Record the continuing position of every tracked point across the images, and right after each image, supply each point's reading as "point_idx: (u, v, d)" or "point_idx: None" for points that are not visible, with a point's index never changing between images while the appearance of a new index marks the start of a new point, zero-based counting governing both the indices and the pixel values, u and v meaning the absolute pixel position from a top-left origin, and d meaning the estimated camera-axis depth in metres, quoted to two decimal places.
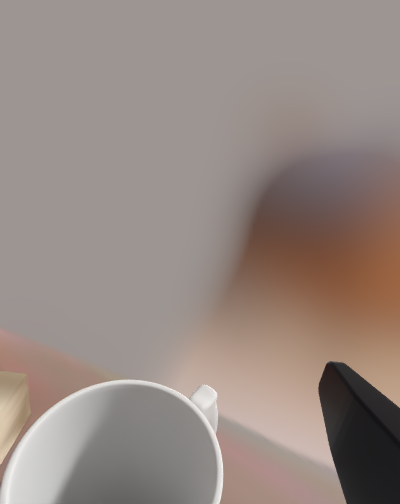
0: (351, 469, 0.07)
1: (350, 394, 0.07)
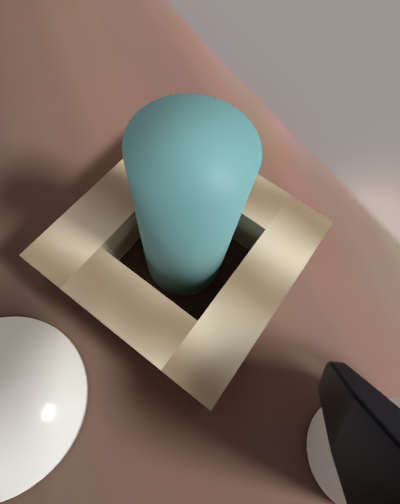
0: (351, 469, 0.07)
1: (350, 394, 0.07)
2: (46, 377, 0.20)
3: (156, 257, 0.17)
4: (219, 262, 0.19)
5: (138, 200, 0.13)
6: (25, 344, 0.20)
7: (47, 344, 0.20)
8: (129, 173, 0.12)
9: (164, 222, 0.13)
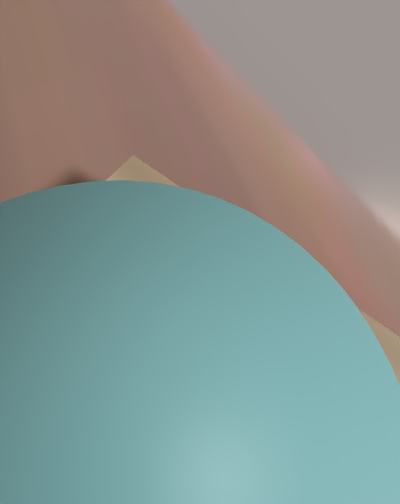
0: None
1: None
2: None
3: None
4: None
5: None
6: None
7: None
8: None
9: None
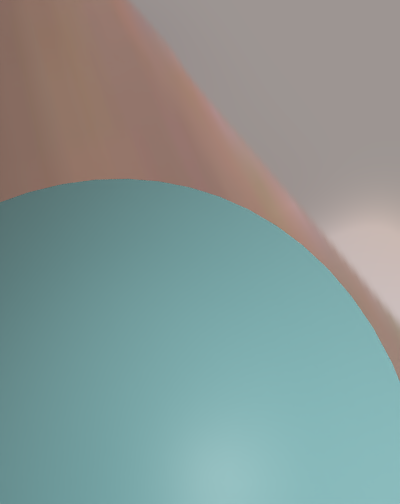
0: None
1: None
2: None
3: None
4: None
5: None
6: None
7: None
8: None
9: None
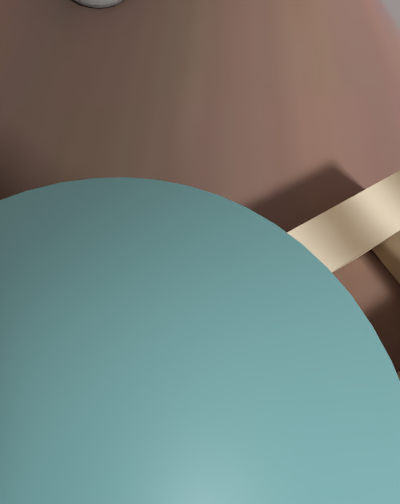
0: None
1: None
2: None
3: None
4: None
5: None
6: None
7: None
8: None
9: None
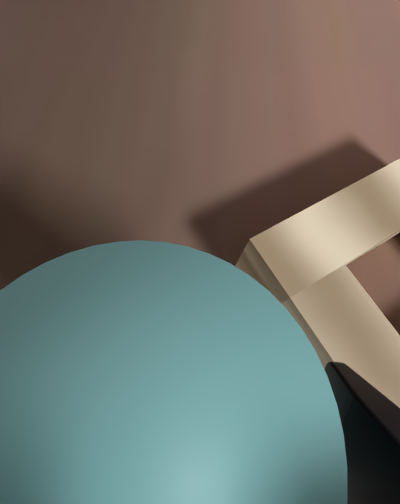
0: (351, 469, 0.07)
1: (350, 394, 0.07)
2: None
3: None
4: None
5: None
6: None
7: None
8: None
9: None
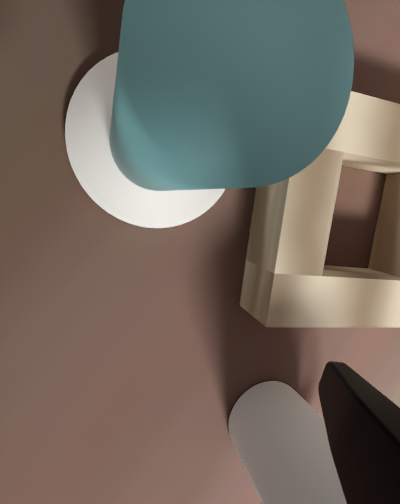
0: (351, 469, 0.07)
1: (350, 394, 0.07)
2: None
3: (116, 138, 0.12)
4: None
5: (118, 73, 0.08)
6: None
7: None
8: (121, 27, 0.06)
9: (134, 133, 0.08)
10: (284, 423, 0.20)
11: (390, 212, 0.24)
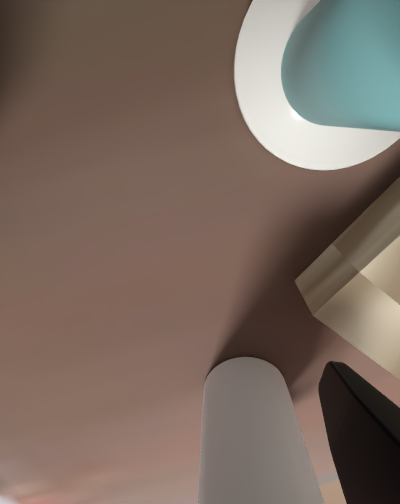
0: (351, 469, 0.07)
1: (350, 394, 0.07)
2: None
3: (327, 12, 0.10)
4: (345, 125, 0.13)
5: None
6: None
7: None
8: None
9: None
10: (265, 406, 0.19)
11: None
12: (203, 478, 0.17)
